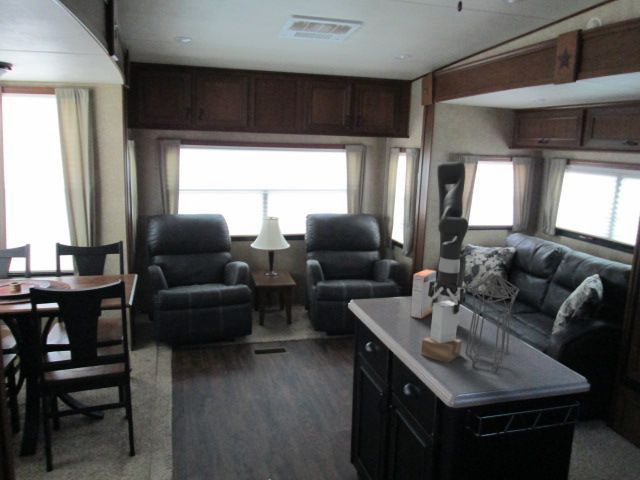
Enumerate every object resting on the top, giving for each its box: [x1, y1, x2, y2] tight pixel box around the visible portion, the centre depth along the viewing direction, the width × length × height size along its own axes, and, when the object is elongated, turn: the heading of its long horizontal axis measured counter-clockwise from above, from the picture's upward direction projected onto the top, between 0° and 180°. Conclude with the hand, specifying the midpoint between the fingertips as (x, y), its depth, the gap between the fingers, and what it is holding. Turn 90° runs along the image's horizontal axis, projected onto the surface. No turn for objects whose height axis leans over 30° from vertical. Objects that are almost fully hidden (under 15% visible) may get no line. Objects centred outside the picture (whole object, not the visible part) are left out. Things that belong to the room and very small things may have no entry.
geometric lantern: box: [464, 273, 520, 372], centre depth 192 cm, size 16×16×35 cm
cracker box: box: [410, 268, 437, 320], centre depth 250 cm, size 14×6×21 cm, turn 144°
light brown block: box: [420, 335, 462, 364], centre depth 203 cm, size 11×11×6 cm
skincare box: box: [429, 300, 458, 344], centre depth 201 cm, size 8×6×15 cm
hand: (445, 310), depth 200 cm, fingers open, 8 cm apart
